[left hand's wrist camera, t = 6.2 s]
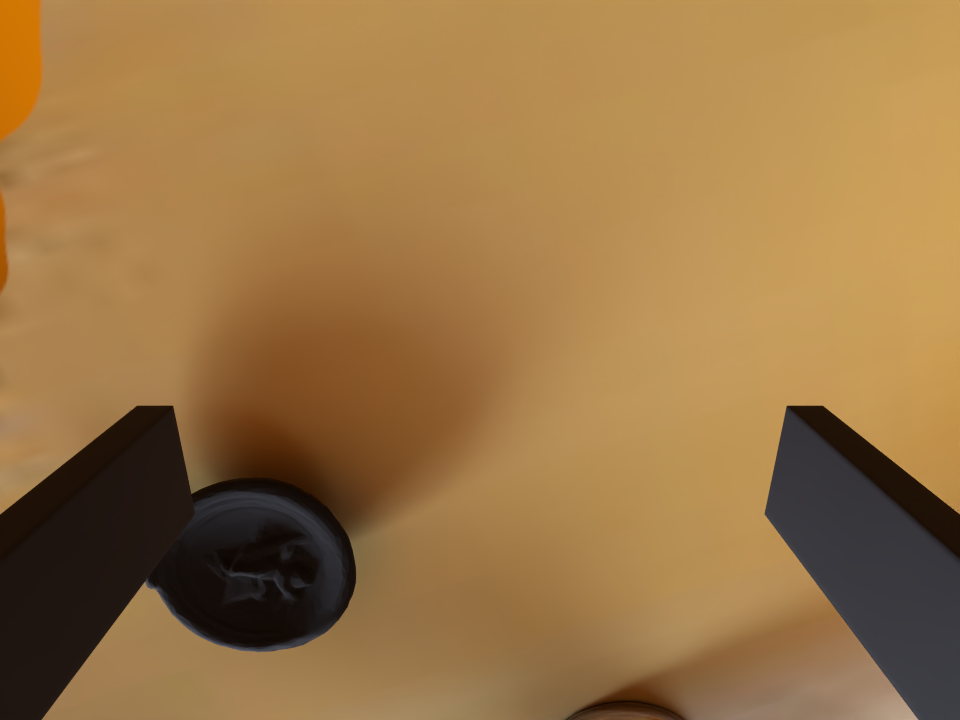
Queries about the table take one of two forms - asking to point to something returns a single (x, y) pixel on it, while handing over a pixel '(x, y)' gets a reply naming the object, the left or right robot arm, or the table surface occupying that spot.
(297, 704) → the table surface
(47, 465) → the table surface
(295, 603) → the oil lamp
